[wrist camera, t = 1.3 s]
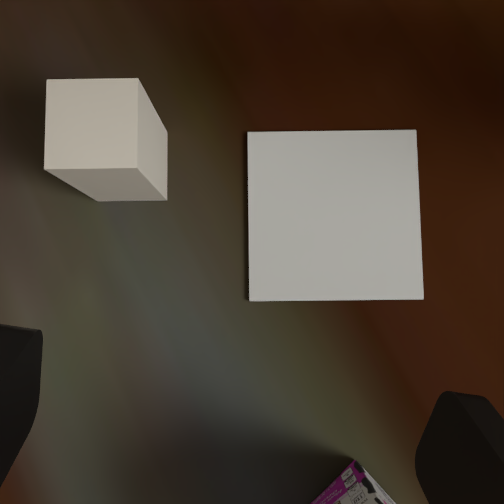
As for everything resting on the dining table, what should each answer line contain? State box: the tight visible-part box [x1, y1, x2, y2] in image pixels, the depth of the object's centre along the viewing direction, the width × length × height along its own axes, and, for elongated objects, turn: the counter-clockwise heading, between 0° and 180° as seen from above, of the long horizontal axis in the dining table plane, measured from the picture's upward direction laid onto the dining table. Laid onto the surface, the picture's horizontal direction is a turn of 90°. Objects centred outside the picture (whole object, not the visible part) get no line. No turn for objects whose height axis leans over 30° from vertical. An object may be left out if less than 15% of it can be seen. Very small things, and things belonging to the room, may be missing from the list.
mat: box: [248, 130, 424, 301], centre depth 39 cm, size 14×14×1 cm
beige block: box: [44, 78, 167, 201], centre depth 35 cm, size 6×6×10 cm
